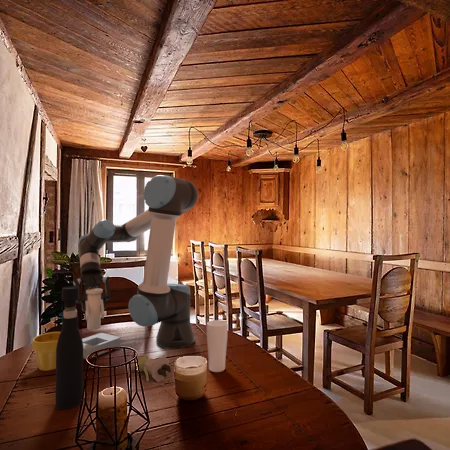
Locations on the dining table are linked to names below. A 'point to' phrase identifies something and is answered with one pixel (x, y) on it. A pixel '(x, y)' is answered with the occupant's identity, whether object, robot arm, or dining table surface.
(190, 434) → the dining table surface
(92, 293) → the cylinder
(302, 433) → the dining table surface
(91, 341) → the jig
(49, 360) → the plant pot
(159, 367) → the figurine
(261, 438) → the dining table surface
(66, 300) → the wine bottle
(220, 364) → the drinking glass
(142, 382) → the dining table surface
